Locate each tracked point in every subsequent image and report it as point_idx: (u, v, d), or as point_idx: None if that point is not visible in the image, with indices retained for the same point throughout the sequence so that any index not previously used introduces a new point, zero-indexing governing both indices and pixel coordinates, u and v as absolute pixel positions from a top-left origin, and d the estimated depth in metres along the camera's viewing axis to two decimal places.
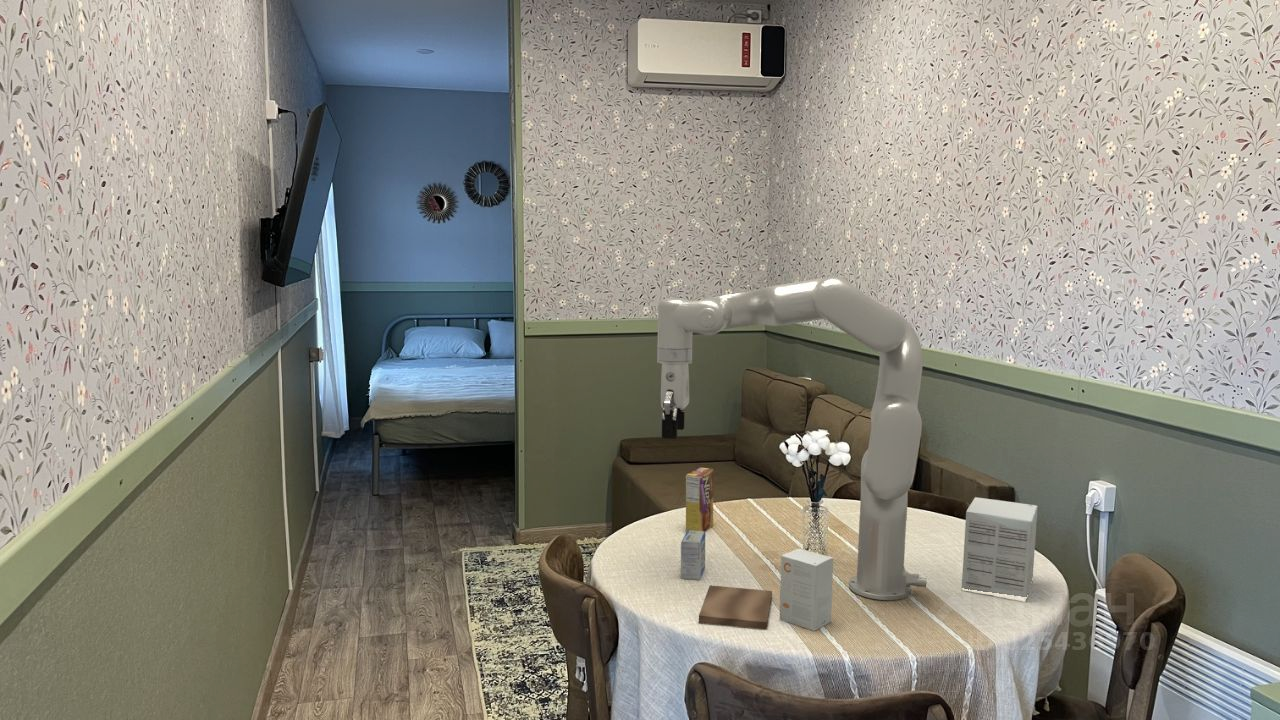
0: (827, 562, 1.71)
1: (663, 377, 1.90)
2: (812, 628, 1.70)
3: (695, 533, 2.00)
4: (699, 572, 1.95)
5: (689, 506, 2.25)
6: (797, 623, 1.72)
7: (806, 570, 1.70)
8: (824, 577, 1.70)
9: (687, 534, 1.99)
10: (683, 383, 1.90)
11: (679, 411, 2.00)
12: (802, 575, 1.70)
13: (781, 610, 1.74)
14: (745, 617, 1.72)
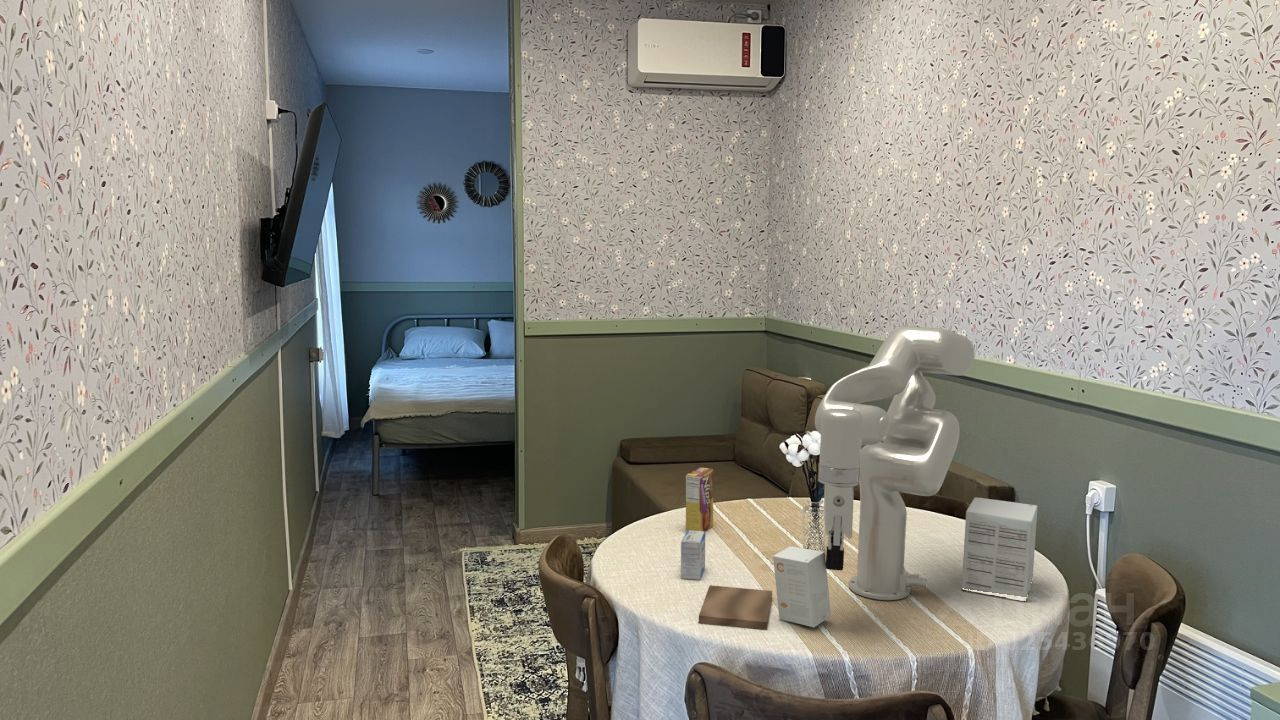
0: (819, 557, 1.71)
1: (830, 501, 1.66)
2: (812, 624, 1.70)
3: (695, 533, 2.00)
4: (699, 572, 1.95)
5: (689, 506, 2.25)
6: (797, 621, 1.72)
7: (799, 568, 1.69)
8: (817, 573, 1.70)
9: (687, 534, 1.99)
10: (852, 508, 1.66)
11: None
12: (795, 573, 1.70)
13: (780, 610, 1.74)
14: (745, 617, 1.72)
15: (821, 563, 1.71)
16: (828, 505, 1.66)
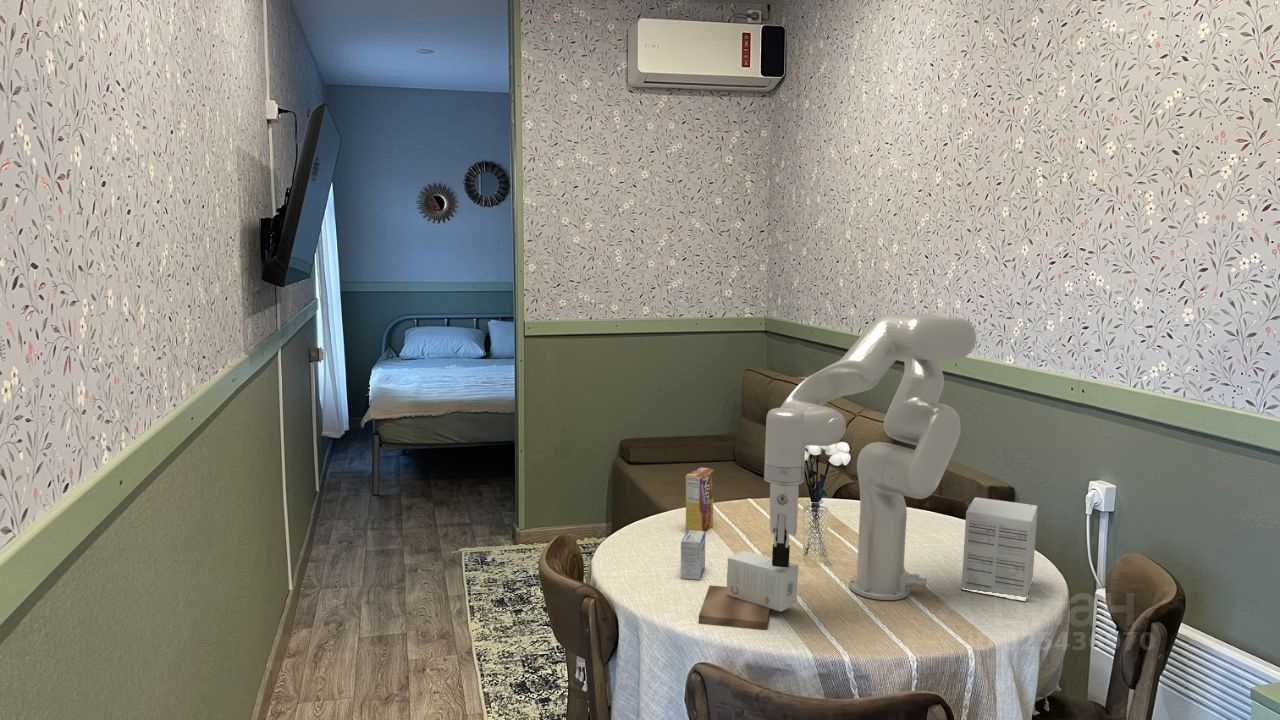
0: (740, 553, 1.84)
1: (773, 499, 1.68)
2: (780, 573, 1.74)
3: (695, 533, 2.00)
4: (699, 572, 1.95)
5: (689, 506, 2.25)
6: (780, 590, 1.74)
7: (733, 569, 1.81)
8: (748, 557, 1.82)
9: (687, 534, 1.99)
10: (796, 506, 1.68)
11: None
12: (738, 574, 1.80)
13: (772, 607, 1.76)
14: (745, 617, 1.72)
15: (746, 553, 1.84)
16: (772, 503, 1.68)
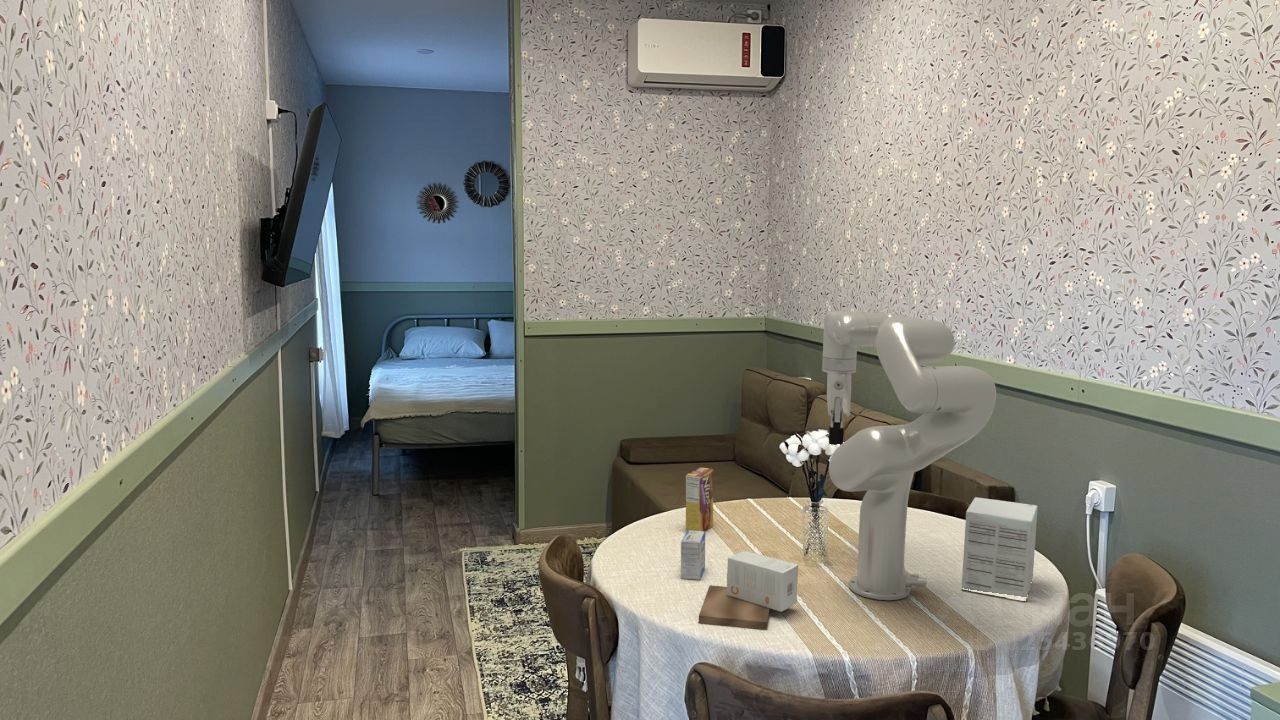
0: (740, 553, 1.84)
1: (831, 385, 2.01)
2: (780, 573, 1.74)
3: (695, 533, 2.00)
4: (699, 572, 1.95)
5: (689, 506, 2.25)
6: (780, 590, 1.74)
7: (733, 569, 1.81)
8: (748, 557, 1.82)
9: (687, 534, 1.99)
10: (850, 391, 2.01)
11: None
12: (738, 574, 1.80)
13: (772, 607, 1.76)
14: (745, 617, 1.72)
15: (746, 553, 1.84)
16: (830, 389, 2.01)
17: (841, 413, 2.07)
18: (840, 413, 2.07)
